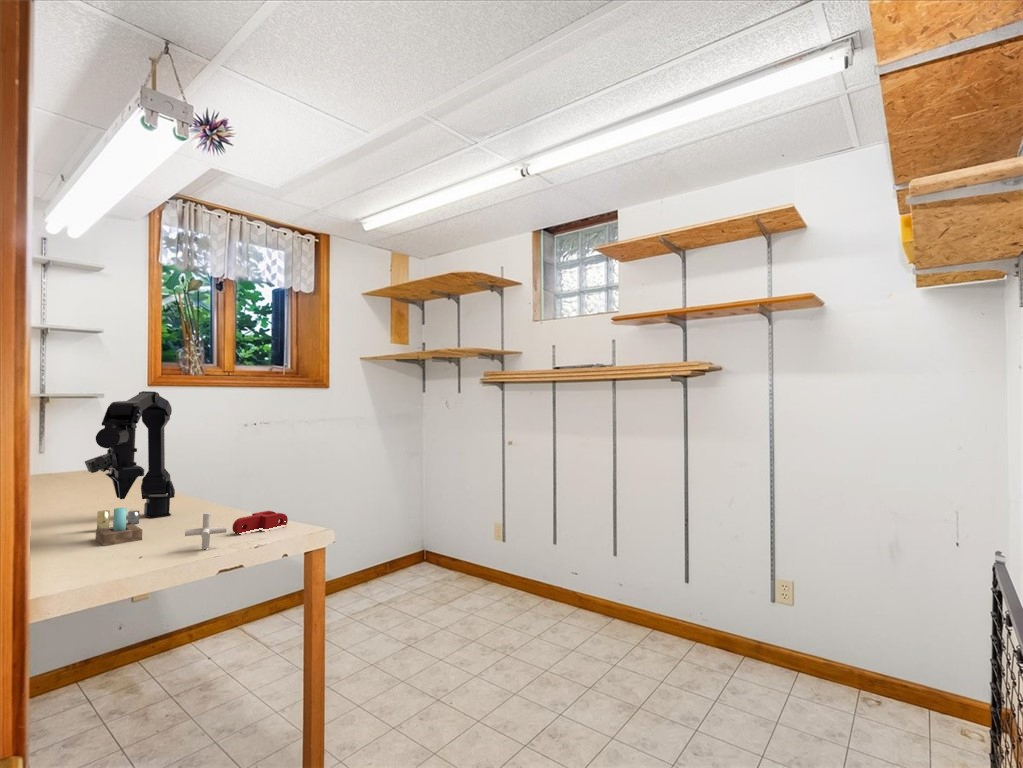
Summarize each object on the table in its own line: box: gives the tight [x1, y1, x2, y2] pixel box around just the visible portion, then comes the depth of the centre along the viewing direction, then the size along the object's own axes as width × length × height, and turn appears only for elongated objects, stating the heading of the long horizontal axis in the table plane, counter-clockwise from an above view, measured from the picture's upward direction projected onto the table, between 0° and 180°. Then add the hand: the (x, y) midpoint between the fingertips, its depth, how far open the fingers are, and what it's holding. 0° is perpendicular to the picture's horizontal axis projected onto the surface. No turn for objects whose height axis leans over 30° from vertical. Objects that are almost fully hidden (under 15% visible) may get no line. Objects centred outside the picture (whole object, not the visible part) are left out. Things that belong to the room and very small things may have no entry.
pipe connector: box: [184, 511, 228, 550], centre depth 149 cm, size 10×10×10 cm
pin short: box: [127, 509, 140, 526], centre depth 174 cm, size 3×3×4 cm
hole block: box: [95, 524, 143, 547], centre depth 155 cm, size 9×9×3 cm
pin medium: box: [96, 509, 111, 529], centre depth 164 cm, size 3×3×6 cm
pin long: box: [112, 507, 127, 532], centre depth 155 cm, size 3×3×9 cm
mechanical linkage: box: [231, 510, 289, 534], centre depth 170 cm, size 16×7×5 cm, turn 149°
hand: (120, 498), depth 155 cm, fingers open, 3 cm apart
